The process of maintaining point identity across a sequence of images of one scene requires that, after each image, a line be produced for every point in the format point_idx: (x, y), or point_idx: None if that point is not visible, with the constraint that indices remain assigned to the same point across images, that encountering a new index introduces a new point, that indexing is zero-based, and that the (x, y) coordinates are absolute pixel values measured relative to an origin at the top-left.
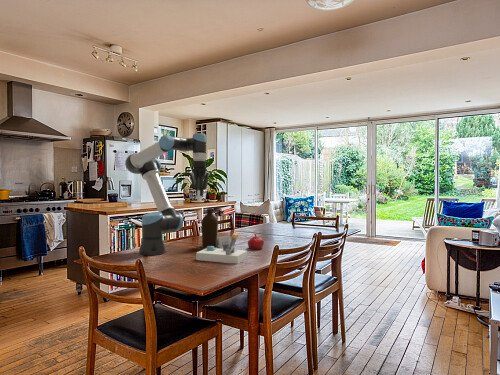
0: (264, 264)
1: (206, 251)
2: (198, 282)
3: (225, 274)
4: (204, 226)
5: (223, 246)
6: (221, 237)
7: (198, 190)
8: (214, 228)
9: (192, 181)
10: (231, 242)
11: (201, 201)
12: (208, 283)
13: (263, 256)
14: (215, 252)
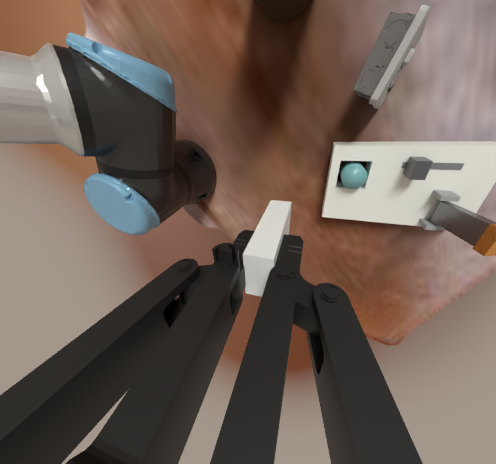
0: None
1: (346, 198)
2: (376, 323)
3: (421, 292)
4: None
5: (408, 177)
6: (388, 81)
7: (251, 284)
8: None
9: (122, 379)
10: (459, 235)
11: (290, 207)
12: (394, 326)
13: None
14: (378, 204)
